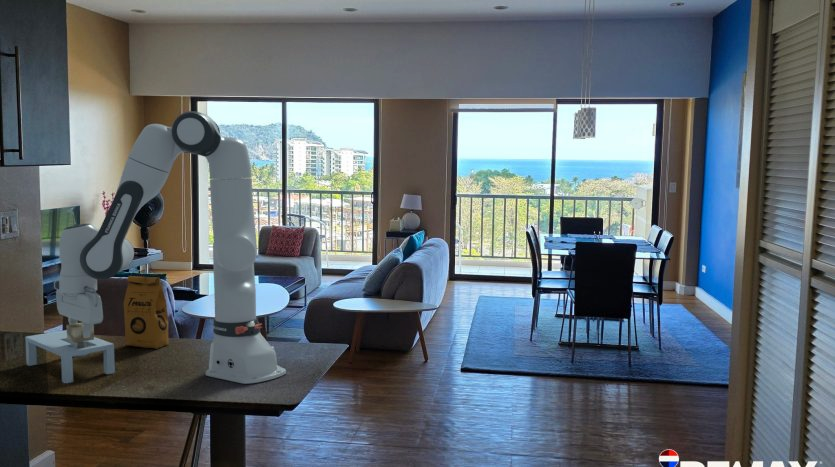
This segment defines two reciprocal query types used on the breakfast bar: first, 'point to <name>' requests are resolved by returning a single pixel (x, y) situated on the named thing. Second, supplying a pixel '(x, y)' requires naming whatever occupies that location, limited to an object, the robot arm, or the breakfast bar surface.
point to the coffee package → (145, 313)
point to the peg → (78, 337)
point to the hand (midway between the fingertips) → (80, 335)
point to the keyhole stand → (68, 351)
